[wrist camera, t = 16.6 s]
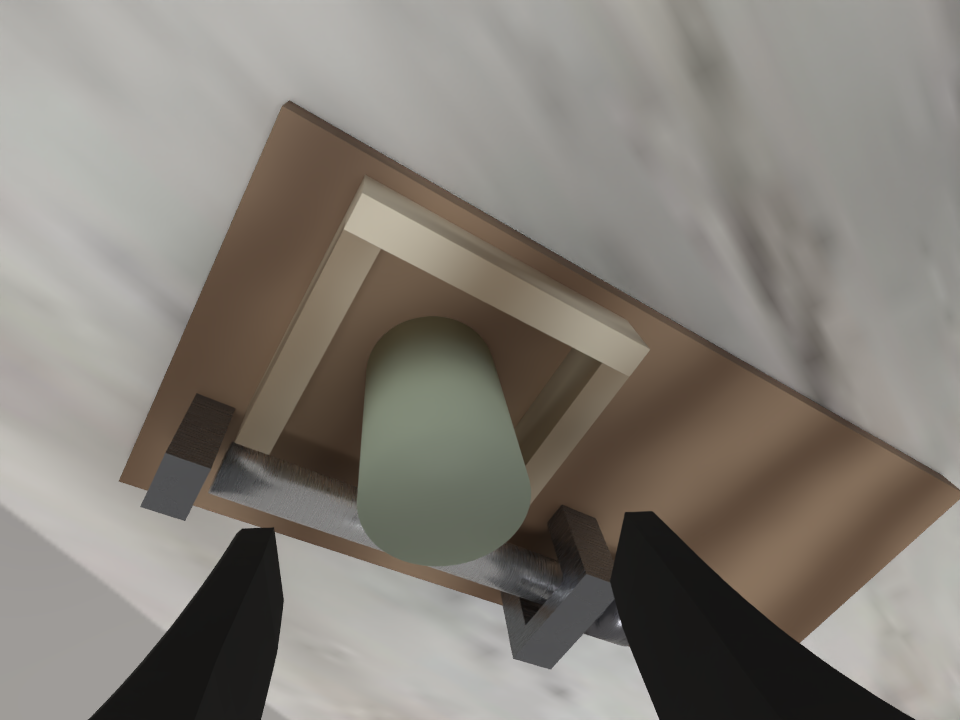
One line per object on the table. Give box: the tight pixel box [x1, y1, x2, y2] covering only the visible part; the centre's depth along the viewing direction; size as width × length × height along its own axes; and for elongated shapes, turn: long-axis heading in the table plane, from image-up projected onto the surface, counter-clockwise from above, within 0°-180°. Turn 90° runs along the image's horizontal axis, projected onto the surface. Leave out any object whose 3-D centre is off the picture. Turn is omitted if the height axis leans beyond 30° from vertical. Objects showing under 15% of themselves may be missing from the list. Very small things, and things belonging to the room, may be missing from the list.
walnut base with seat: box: [119, 101, 960, 647], centre depth 22 cm, size 29×13×3 cm, turn 59°
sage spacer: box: [357, 316, 531, 566], centre depth 17 cm, size 4×4×6 cm
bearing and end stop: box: [141, 393, 614, 669], centre depth 20 cm, size 14×4×3 cm, turn 59°
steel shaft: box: [208, 441, 629, 646], centre depth 21 cm, size 16×3×3 cm, turn 59°
